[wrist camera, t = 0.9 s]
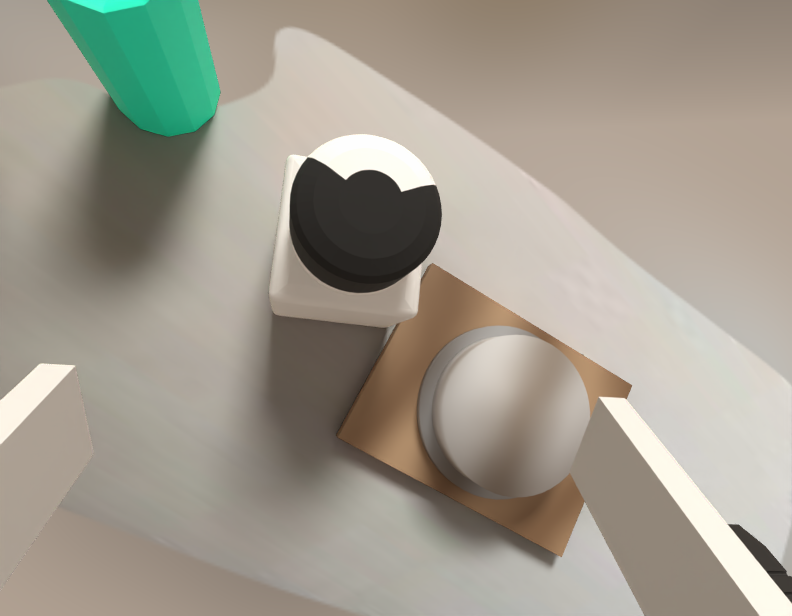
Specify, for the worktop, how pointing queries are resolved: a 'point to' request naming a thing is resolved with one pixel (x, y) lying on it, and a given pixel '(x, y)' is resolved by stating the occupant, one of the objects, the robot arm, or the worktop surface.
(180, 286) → the worktop surface
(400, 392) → the stub board
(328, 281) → the medicine bottle
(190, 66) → the candle
